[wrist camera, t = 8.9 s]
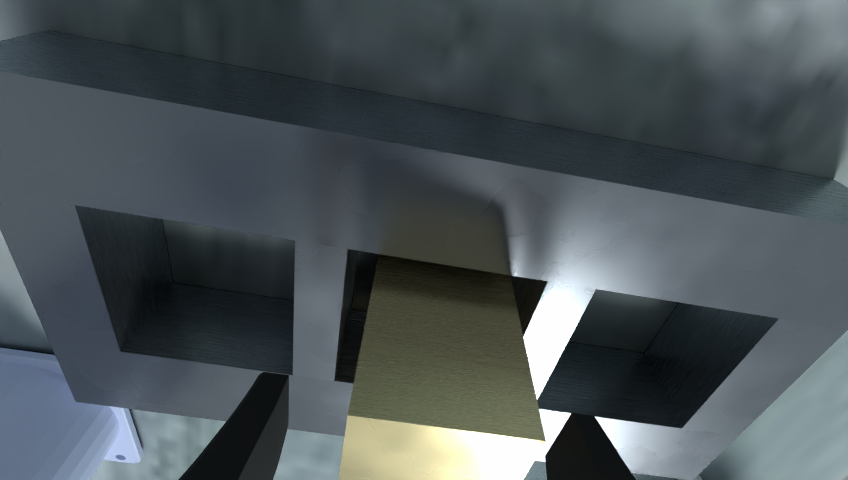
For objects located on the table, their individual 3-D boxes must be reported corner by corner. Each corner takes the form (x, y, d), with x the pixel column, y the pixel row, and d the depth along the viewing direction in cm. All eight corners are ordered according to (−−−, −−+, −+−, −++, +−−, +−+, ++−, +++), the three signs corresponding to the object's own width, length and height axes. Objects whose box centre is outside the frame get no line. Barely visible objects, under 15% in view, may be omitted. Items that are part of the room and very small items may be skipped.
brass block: (374, 294, 17) (334, 511, 11) (387, 208, 15) (347, 415, 8) (472, 309, 18) (492, 529, 11) (499, 227, 15) (545, 440, 9)
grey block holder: (131, 331, 19) (75, 401, 16) (47, 30, 12) (-75, 57, 9) (657, 405, 21) (692, 480, 18) (834, 180, 14) (938, 241, 11)
